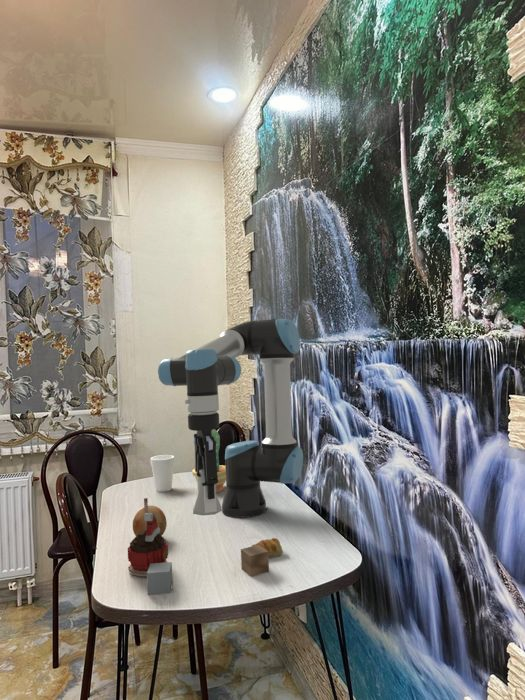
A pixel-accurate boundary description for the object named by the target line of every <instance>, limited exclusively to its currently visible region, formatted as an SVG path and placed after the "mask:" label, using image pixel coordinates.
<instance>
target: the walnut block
mask: <svg viewBox="0 0 525 700" xmlns="http://www.w3.org/2000/svg"><path fill="white" fill-rule="evenodd" d="M240 558H241V559H240V561H241V563H240V564H241V565H240V566H241V570H242V571H243V572H244V573H246V574H247V575H248V576H249V577H251V578H252V577H256V576H258V575H262V574H265V573H270V561H269V559H270V558H269V557H268V551H267V550H266V549H264V548H263V547H261V546H260V545H255V546H252V545H251V546H249V547H244V548H241V549H240Z"/></svg>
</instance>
